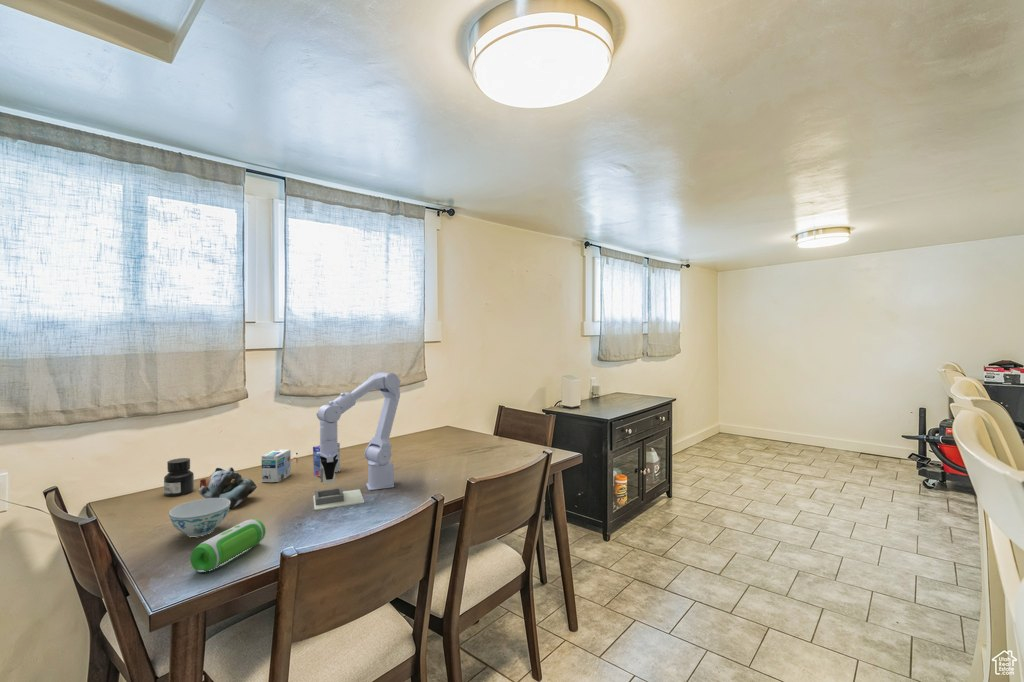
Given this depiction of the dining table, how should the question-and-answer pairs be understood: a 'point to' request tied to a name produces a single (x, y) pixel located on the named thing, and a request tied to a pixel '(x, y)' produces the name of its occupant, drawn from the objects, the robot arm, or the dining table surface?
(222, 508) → the chinaware
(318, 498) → the socket board
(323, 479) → the plug
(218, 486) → the grey animal figurine
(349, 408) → the robot arm
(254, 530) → the speaker
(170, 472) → the ink bottle
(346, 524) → the dining table surface
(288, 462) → the light bulb box
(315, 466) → the ink cartridge box
